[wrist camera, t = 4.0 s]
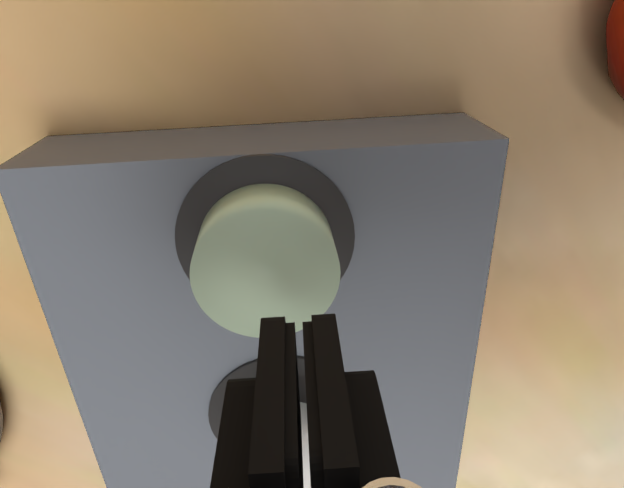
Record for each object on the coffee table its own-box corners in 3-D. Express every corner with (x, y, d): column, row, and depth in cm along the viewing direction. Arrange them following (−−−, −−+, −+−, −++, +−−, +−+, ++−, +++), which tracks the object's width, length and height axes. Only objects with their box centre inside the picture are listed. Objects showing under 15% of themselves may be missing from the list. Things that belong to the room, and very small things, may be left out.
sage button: (331, 179, 15) (340, 203, 13) (333, 297, 17) (341, 332, 15) (188, 188, 15) (177, 213, 13) (208, 306, 17) (201, 343, 15)
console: (463, 112, 19) (512, 140, 15) (424, 480, 29) (447, 552, 25) (46, 136, 18) (-12, 172, 14) (156, 507, 28) (139, 585, 24)
